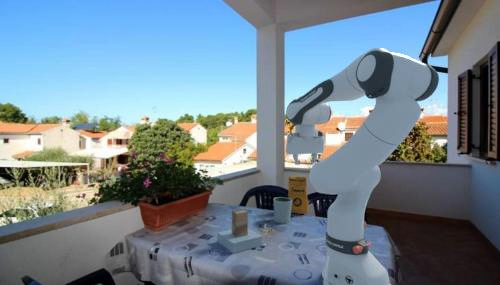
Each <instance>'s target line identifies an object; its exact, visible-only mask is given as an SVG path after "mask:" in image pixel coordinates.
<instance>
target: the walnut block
mask: <svg viewBox="0 0 500 285" xmlns="http://www.w3.org/2000/svg"><path fill="white" fill-rule="evenodd" d="M248 217H249V212H248V211H247V210H245V209H243V208H239V209H234V210H231V229H232V234H233V235H235V236H236V237H241V236H246V235H248V229H249V228H248V227H249V222H248V221H249V220H248V219H249V218H248Z"/></svg>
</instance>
